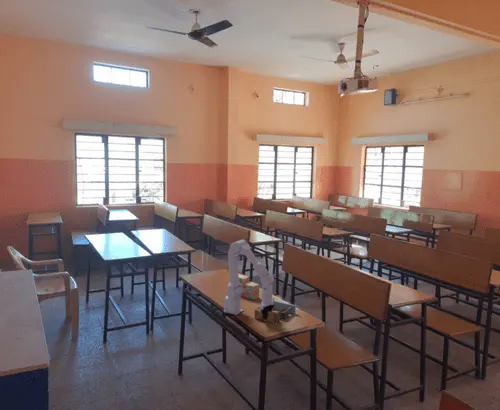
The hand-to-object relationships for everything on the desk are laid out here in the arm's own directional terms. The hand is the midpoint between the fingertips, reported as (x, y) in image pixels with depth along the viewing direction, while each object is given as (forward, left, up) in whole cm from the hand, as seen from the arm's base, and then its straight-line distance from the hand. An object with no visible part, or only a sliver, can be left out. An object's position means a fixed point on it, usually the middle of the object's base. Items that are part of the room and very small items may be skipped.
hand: (266, 317), depth 221 cm
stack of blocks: (-32, +28, -2) cm, 42 cm away
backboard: (0, +14, -1) cm, 15 cm away
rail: (0, 0, -2) cm, 2 cm away
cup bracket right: (+6, +8, -1) cm, 11 cm away
